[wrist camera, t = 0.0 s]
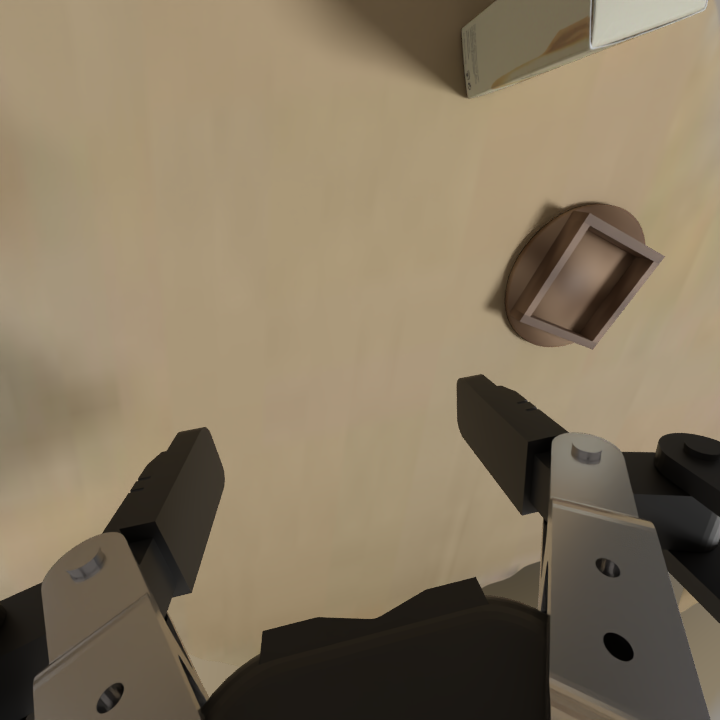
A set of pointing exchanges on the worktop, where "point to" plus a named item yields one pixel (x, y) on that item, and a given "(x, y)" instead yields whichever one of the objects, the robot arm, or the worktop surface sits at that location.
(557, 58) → the skincare box
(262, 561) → the worktop surface
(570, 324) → the walnut stand
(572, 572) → the robot arm
